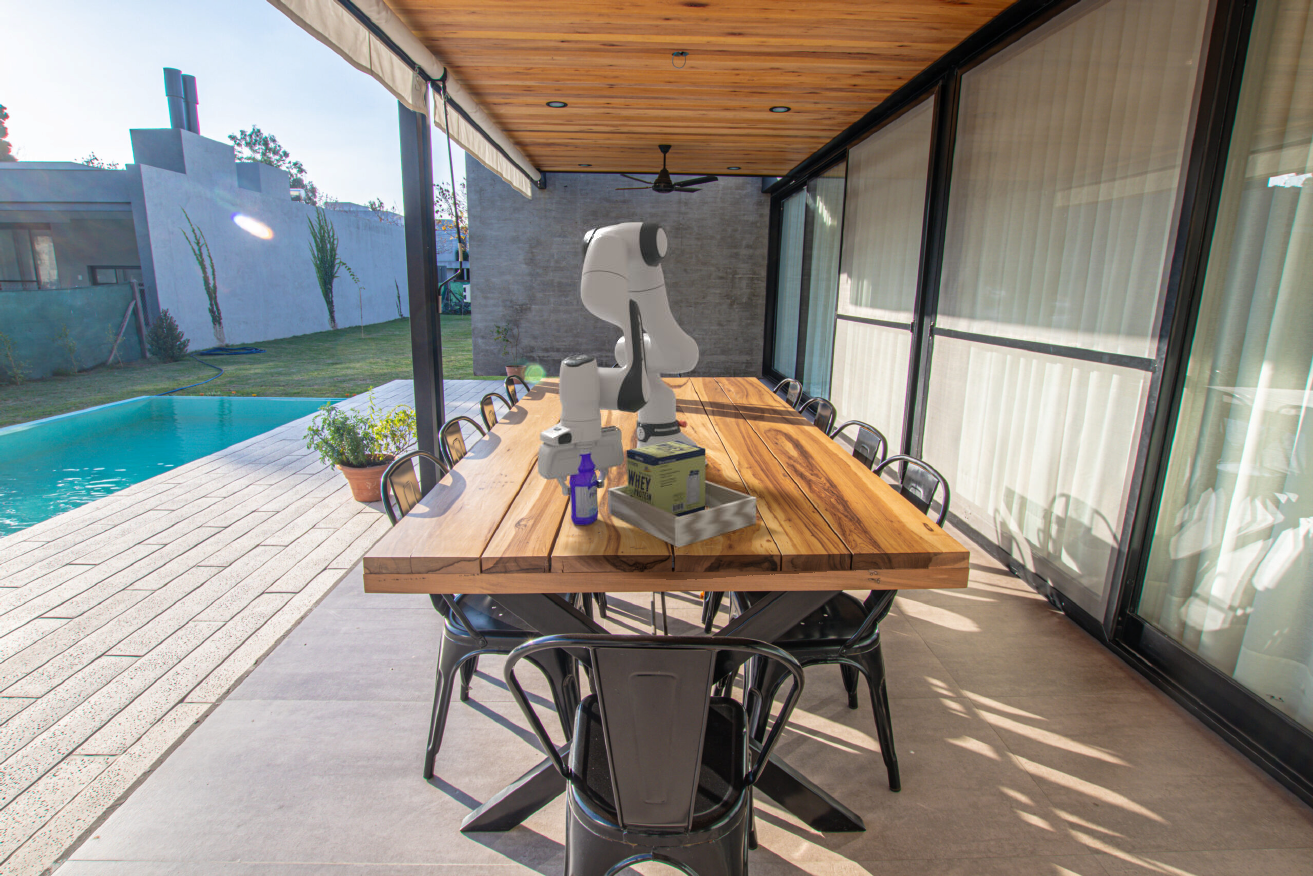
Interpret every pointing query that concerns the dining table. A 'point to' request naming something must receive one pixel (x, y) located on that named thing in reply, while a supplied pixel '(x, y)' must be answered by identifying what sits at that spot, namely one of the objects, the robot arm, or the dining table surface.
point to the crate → (721, 518)
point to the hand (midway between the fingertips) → (583, 491)
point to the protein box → (668, 476)
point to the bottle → (584, 491)
